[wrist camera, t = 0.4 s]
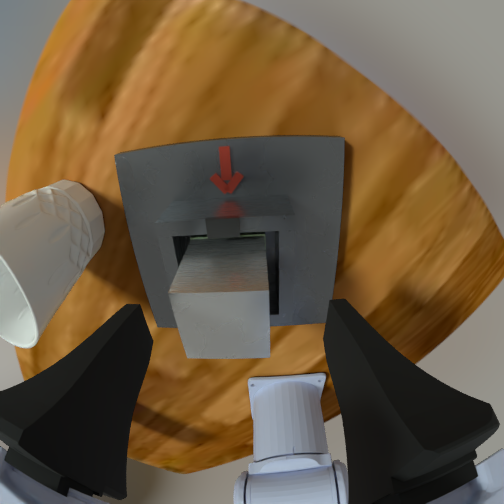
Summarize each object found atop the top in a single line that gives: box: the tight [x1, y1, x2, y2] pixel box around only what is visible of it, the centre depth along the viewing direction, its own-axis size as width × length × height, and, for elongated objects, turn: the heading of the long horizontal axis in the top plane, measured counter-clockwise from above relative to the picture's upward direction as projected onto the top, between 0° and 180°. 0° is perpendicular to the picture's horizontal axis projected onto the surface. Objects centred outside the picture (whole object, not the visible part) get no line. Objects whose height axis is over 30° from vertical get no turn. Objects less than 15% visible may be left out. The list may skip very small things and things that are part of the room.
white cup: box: [0, 179, 105, 348], centre depth 14 cm, size 8×8×10 cm
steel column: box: [168, 231, 270, 359], centre depth 15 cm, size 4×4×7 cm
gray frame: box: [114, 135, 345, 328], centre depth 17 cm, size 14×14×5 cm
